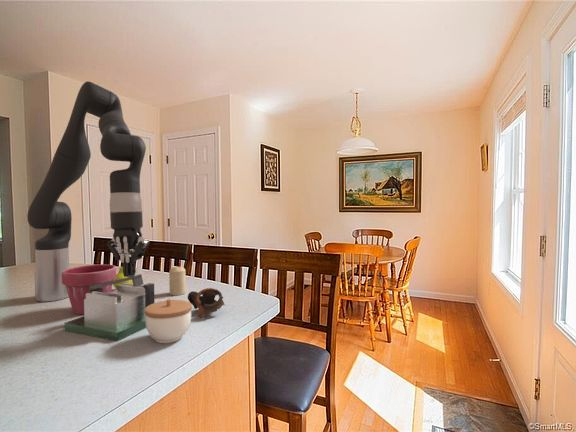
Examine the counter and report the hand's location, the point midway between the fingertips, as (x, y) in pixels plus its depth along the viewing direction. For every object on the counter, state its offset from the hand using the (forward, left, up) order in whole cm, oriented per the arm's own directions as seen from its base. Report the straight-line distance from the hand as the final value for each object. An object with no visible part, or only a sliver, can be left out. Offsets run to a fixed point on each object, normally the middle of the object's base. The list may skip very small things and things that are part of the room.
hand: (129, 276), depth 84 cm
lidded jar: (+15, -2, -14) cm, 20 cm away
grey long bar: (-4, 0, -4) cm, 6 cm away
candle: (-9, +30, -14) cm, 34 cm away
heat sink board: (-4, 0, -13) cm, 14 cm away
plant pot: (-22, +6, -14) cm, 27 cm away
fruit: (-31, +26, -14) cm, 43 cm away
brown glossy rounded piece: (+12, +17, -14) cm, 25 cm away
